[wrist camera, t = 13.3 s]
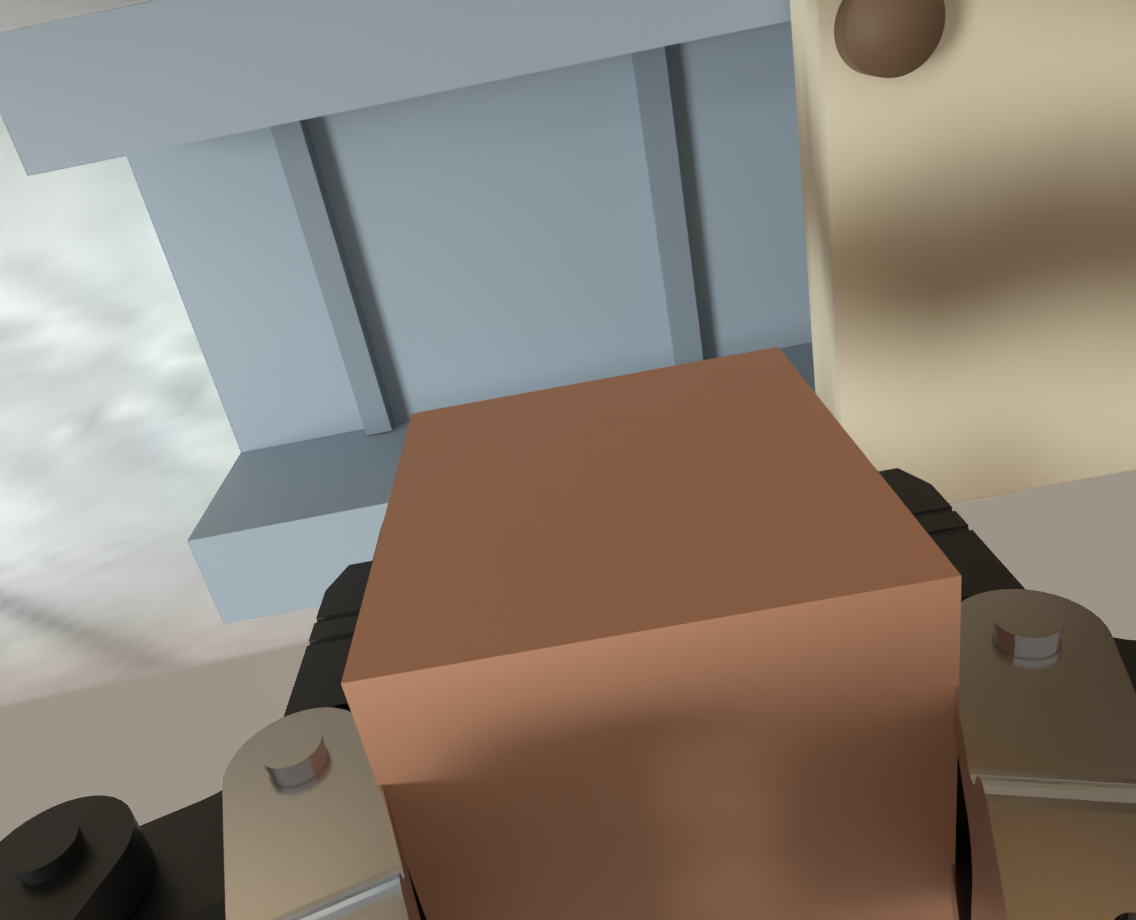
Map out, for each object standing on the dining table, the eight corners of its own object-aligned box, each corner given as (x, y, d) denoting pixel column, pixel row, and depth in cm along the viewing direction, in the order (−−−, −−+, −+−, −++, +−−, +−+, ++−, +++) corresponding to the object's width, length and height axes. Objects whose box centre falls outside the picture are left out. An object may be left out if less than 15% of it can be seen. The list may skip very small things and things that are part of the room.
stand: (95, 33, 24) (-60, 40, 18) (1102, -177, 24) (1334, -250, 17) (276, 511, 31) (213, 646, 24) (1066, 359, 30) (1223, 457, 24)
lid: (785, -74, 18) (828, -88, 16) (1258, -171, 18) (1379, -201, 16) (821, 485, 24) (857, 540, 22) (1180, 417, 24) (1260, 465, 21)
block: (411, 413, 11) (339, 682, 7) (777, 346, 11) (960, 575, 6) (489, 697, 13) (475, 1055, 9) (799, 643, 13) (951, 977, 8)
